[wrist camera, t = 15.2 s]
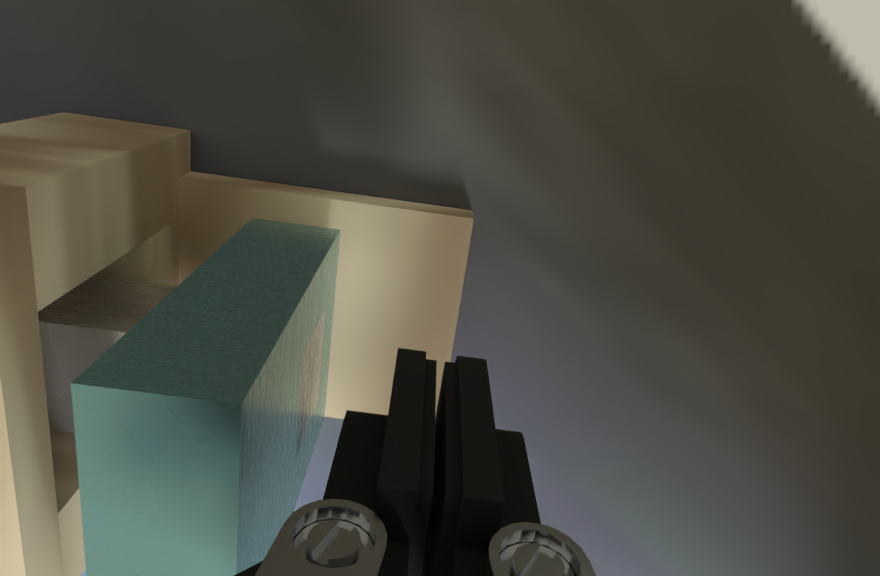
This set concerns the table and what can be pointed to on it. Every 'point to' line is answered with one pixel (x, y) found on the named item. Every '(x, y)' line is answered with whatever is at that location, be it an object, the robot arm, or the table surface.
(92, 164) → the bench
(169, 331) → the mallet
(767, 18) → the table surface
